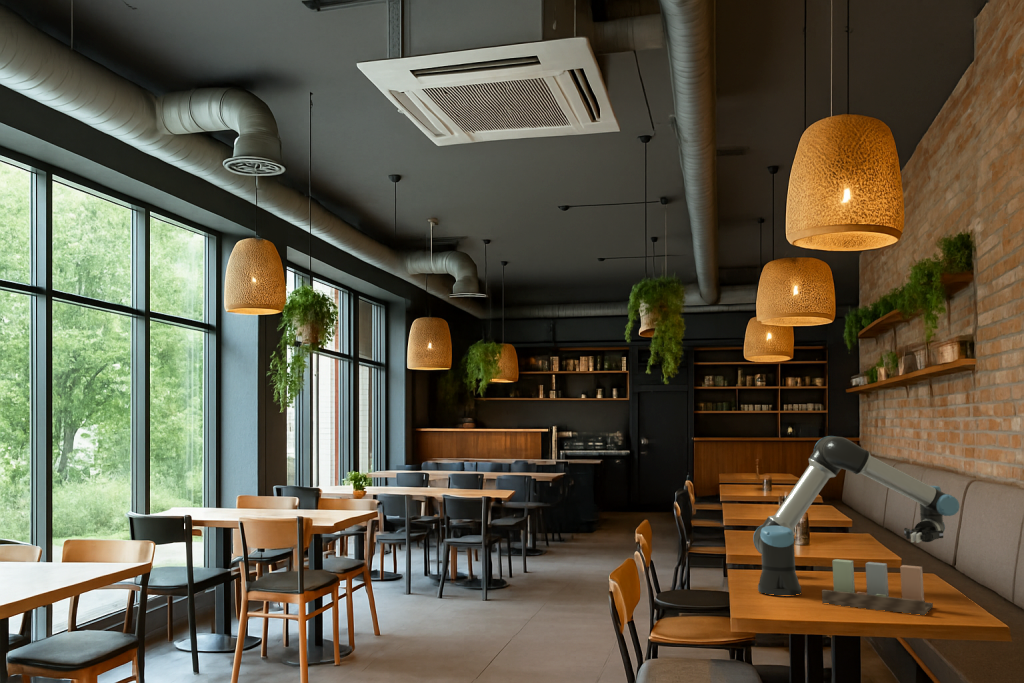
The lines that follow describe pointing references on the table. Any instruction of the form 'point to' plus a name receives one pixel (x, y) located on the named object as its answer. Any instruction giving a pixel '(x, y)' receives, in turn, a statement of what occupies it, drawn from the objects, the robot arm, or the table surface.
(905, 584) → the terracotta key
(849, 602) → the keypad console
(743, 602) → the table surface
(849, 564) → the pale green upright slab
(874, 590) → the blue-grey upright slab
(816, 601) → the table surface
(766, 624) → the table surface
